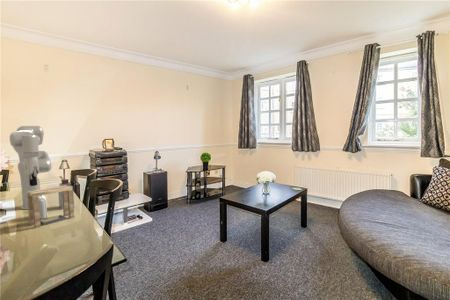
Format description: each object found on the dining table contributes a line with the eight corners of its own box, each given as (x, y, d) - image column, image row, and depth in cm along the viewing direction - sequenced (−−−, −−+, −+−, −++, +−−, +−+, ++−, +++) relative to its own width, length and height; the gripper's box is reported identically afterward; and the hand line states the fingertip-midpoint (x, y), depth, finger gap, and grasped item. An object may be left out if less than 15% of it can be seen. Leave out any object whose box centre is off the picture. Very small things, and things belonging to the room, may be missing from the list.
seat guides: (38, 222, 129) (38, 219, 129) (60, 216, 137) (60, 214, 137) (44, 225, 124) (43, 222, 124) (66, 219, 133) (66, 216, 133)
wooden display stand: (29, 224, 126) (26, 191, 125) (67, 214, 141) (65, 185, 140) (35, 227, 121) (32, 193, 120) (74, 217, 136) (72, 186, 134)
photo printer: (37, 215, 142) (35, 194, 141) (46, 213, 145) (44, 193, 144) (38, 219, 134) (36, 197, 133) (47, 217, 137) (46, 196, 136)
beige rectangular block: (74, 206, 157) (72, 179, 156) (62, 209, 152) (60, 181, 151) (71, 204, 162) (69, 178, 161) (59, 207, 157) (57, 180, 156)
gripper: (18, 155, 144) (21, 185, 146) (27, 156, 136) (30, 188, 137) (34, 154, 151) (36, 183, 152) (43, 155, 142) (45, 185, 143)
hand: (33, 185), depth 144 cm, fingers closed
